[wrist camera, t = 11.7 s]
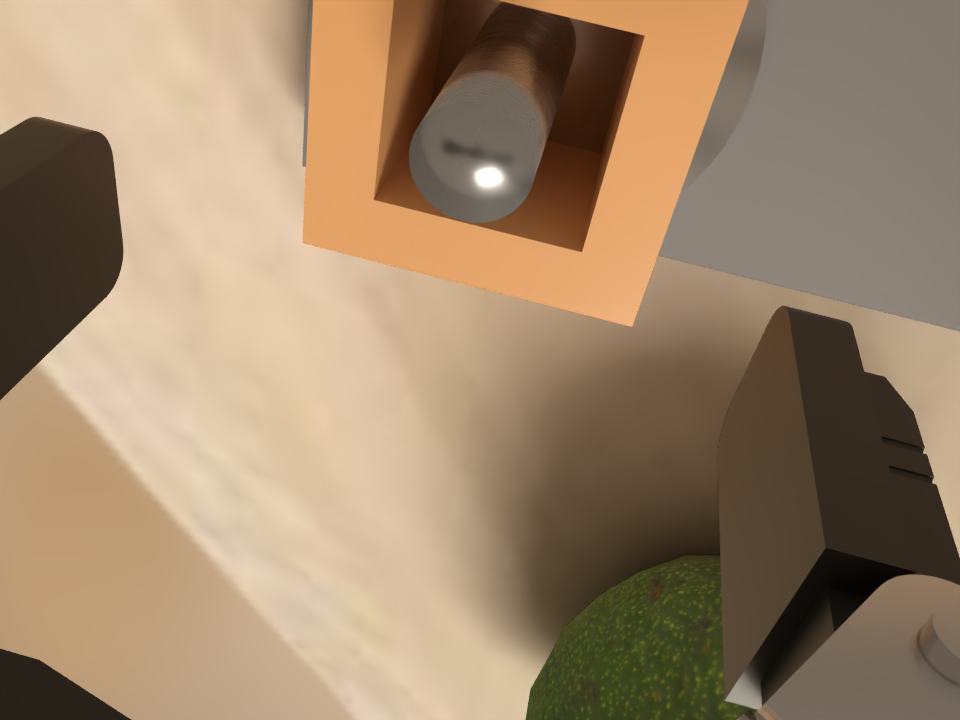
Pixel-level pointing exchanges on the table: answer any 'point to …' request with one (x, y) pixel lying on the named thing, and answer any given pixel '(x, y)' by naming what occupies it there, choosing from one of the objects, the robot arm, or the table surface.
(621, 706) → the fruit
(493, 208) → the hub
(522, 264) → the collar
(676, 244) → the board
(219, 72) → the table surface
